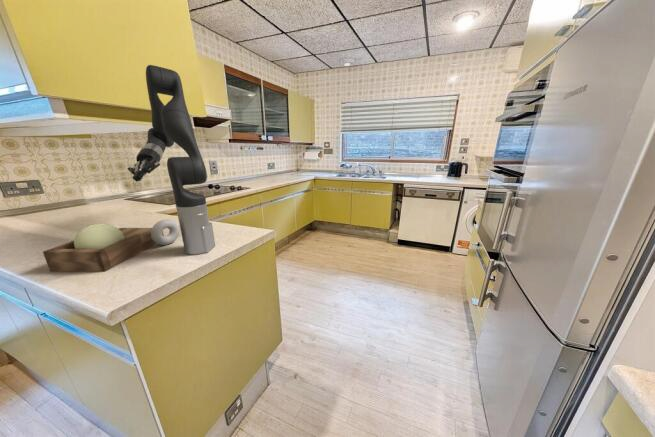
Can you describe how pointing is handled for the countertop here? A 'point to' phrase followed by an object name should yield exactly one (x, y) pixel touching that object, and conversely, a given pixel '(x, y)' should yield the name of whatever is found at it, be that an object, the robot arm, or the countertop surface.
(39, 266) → the countertop surface
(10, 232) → the countertop surface
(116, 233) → the melon
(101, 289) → the countertop surface
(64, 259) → the wooden serving tray
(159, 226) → the donut
